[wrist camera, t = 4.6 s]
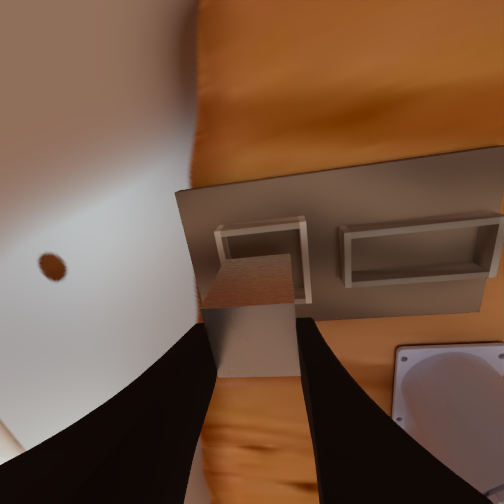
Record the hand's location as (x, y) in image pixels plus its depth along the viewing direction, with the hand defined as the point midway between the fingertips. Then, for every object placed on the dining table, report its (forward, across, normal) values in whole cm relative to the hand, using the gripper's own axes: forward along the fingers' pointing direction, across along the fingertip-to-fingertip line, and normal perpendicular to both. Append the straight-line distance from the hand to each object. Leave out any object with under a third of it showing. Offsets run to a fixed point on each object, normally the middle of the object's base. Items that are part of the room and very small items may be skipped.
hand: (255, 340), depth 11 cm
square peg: (+4, 0, 0) cm, 4 cm away
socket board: (+9, -4, 0) cm, 10 cm away
